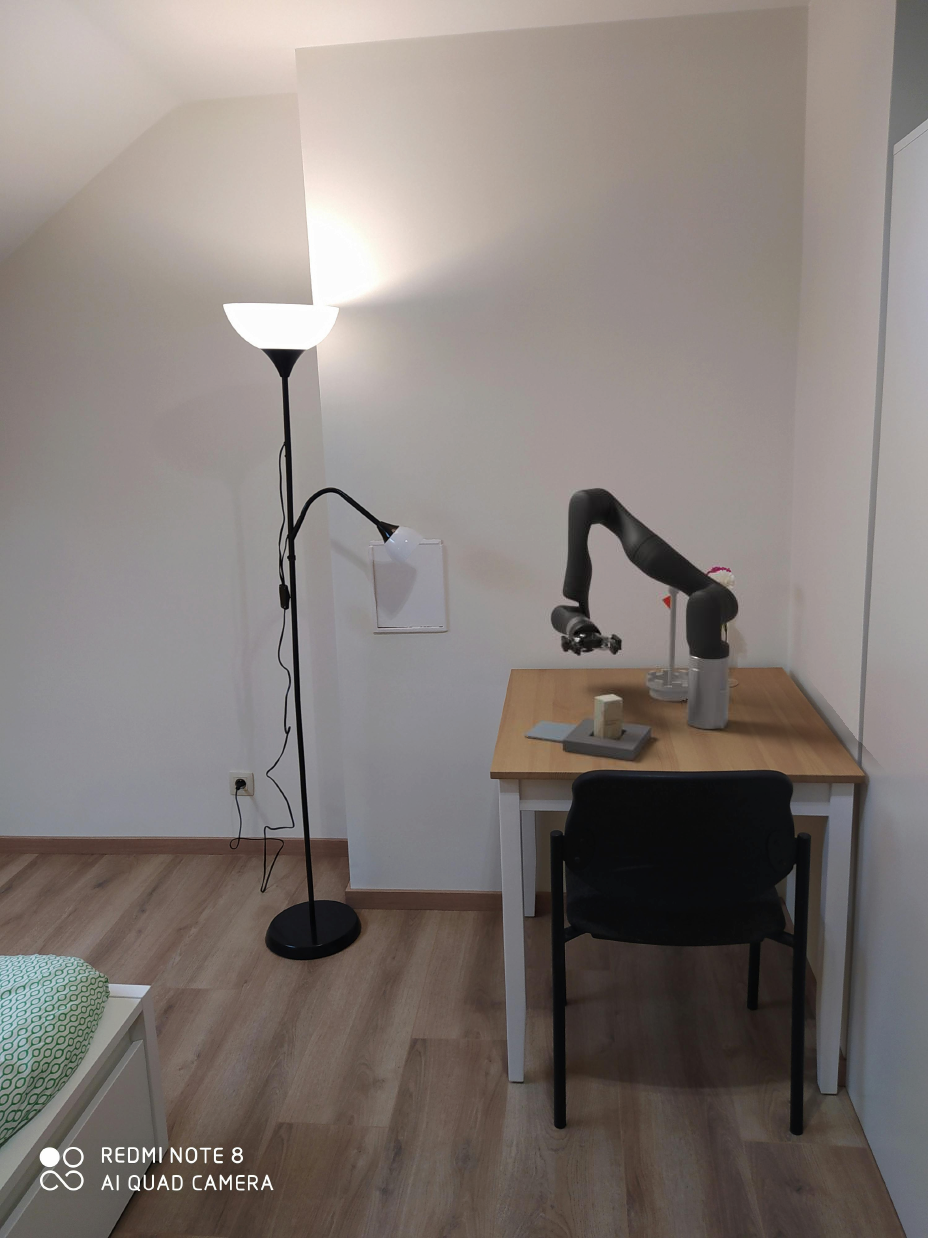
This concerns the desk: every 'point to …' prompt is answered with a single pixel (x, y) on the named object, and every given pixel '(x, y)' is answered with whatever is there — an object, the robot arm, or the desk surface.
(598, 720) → the box
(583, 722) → the socket block
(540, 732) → the pad
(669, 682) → the flag stand
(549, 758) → the desk surface
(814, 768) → the desk surface
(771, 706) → the desk surface
